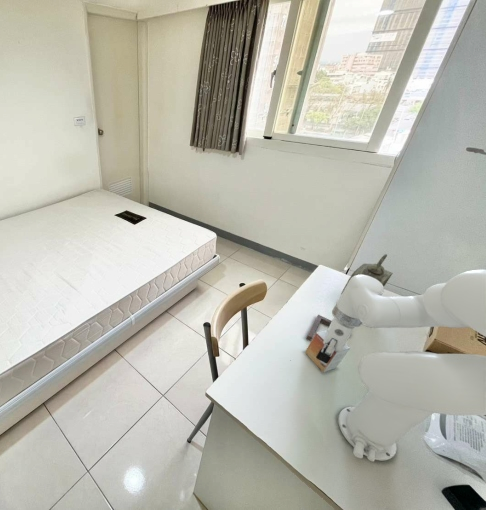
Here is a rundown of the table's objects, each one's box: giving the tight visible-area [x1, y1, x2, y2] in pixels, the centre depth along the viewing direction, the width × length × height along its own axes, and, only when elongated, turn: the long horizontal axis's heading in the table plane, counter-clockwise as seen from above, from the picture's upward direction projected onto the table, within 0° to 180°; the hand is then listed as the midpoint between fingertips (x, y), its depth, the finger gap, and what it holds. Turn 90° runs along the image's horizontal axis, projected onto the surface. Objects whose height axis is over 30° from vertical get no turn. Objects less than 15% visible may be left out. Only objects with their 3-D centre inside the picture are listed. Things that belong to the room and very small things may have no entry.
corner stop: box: [305, 314, 332, 342], centre depth 98 cm, size 14×11×2 cm
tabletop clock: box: [340, 254, 393, 295], centre depth 105 cm, size 14×9×25 cm, turn 126°
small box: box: [304, 328, 351, 373], centre depth 87 cm, size 8×6×10 cm
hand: (325, 351), depth 88 cm, fingers closed on small box, 8 cm apart
